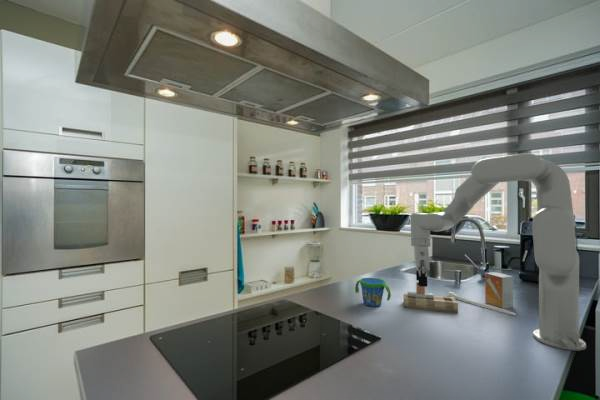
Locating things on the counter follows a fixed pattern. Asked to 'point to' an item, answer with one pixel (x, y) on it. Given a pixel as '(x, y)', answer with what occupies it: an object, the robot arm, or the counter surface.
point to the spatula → (479, 303)
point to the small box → (499, 289)
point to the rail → (432, 303)
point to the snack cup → (372, 291)
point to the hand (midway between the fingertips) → (421, 283)
